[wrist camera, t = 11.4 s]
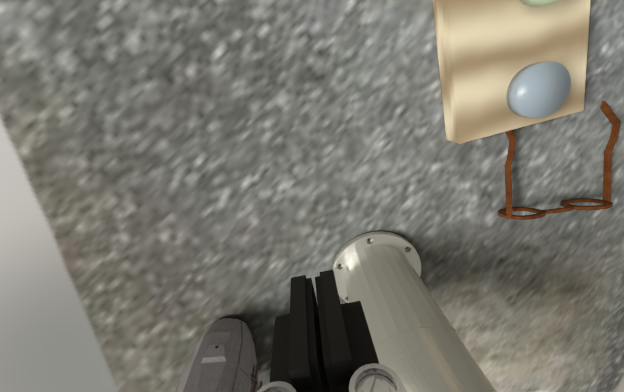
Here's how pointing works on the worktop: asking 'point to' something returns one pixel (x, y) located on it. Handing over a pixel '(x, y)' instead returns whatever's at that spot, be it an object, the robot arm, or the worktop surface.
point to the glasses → (566, 206)
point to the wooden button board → (504, 59)
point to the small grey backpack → (222, 360)
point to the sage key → (537, 2)
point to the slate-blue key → (538, 90)
